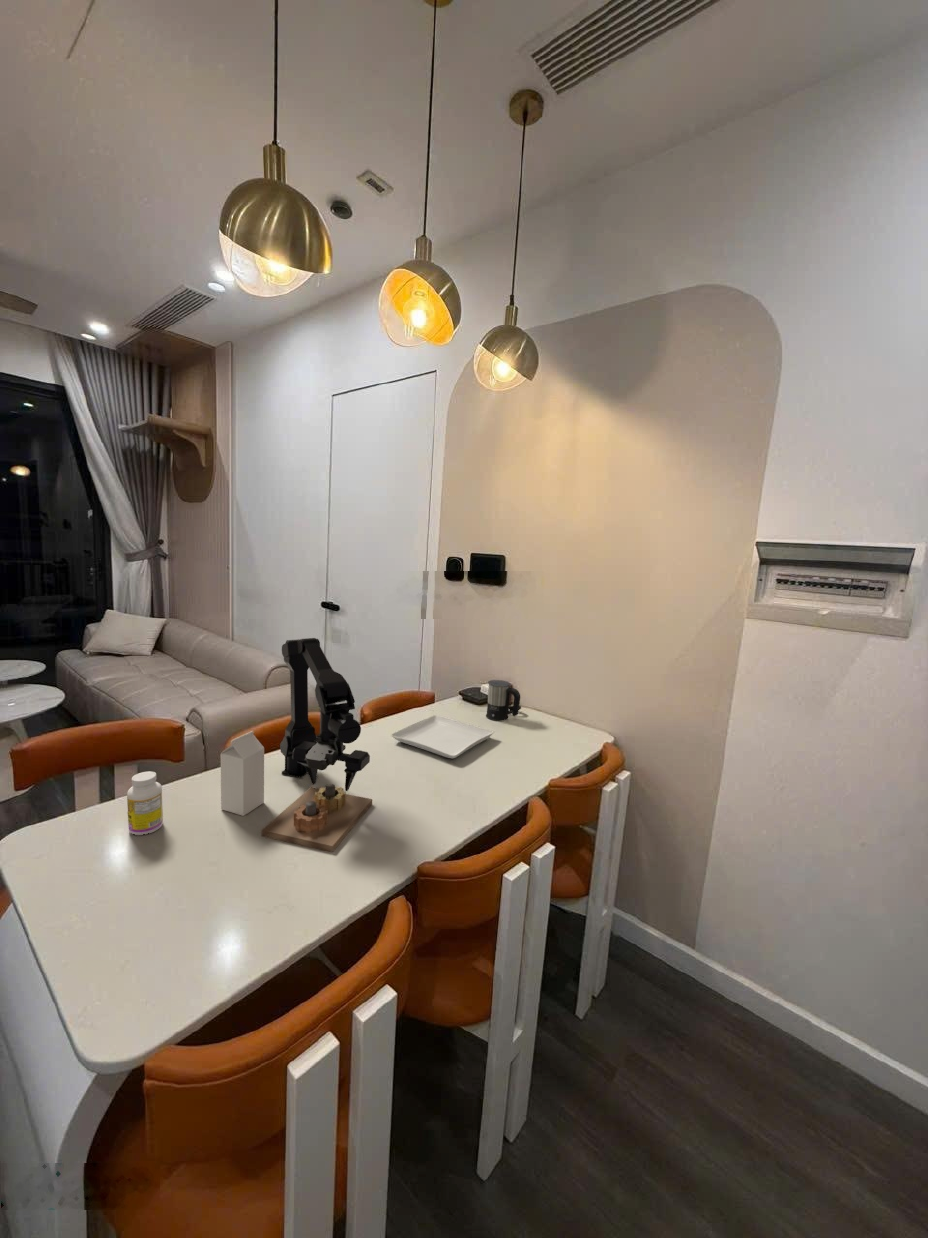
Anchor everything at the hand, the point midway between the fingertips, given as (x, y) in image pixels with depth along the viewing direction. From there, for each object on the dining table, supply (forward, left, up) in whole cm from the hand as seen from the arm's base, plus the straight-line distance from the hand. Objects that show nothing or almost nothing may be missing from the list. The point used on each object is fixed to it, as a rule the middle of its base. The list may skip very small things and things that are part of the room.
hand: (330, 787), depth 122 cm
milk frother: (+31, +88, -6) cm, 94 cm away
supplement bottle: (-35, -21, -6) cm, 41 cm away
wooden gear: (0, 0, -5) cm, 5 cm away
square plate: (+15, +53, -7) cm, 55 cm away
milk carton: (-21, -6, -6) cm, 23 cm away
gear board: (0, -4, -6) cm, 8 cm away
